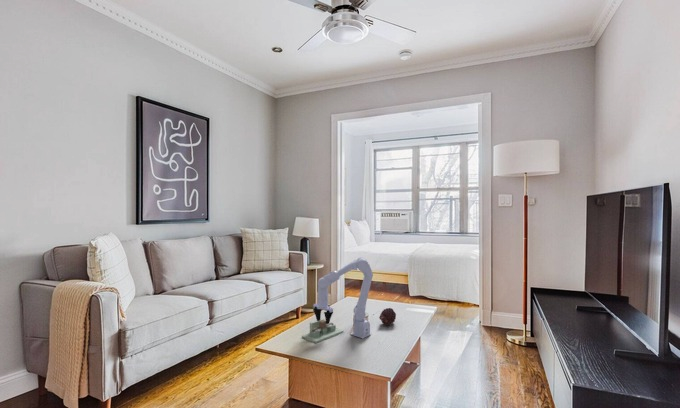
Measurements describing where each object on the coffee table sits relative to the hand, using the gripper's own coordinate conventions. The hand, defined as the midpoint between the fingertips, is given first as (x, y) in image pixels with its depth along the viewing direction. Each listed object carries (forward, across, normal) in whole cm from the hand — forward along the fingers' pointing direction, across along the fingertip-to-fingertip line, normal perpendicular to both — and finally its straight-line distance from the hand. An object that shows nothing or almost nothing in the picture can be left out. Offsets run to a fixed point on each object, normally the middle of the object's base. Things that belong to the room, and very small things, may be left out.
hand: (323, 322), depth 205 cm
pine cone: (+8, +17, +41) cm, 45 cm away
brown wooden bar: (+3, 0, 0) cm, 3 cm away
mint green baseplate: (+7, 0, 0) cm, 7 cm away
